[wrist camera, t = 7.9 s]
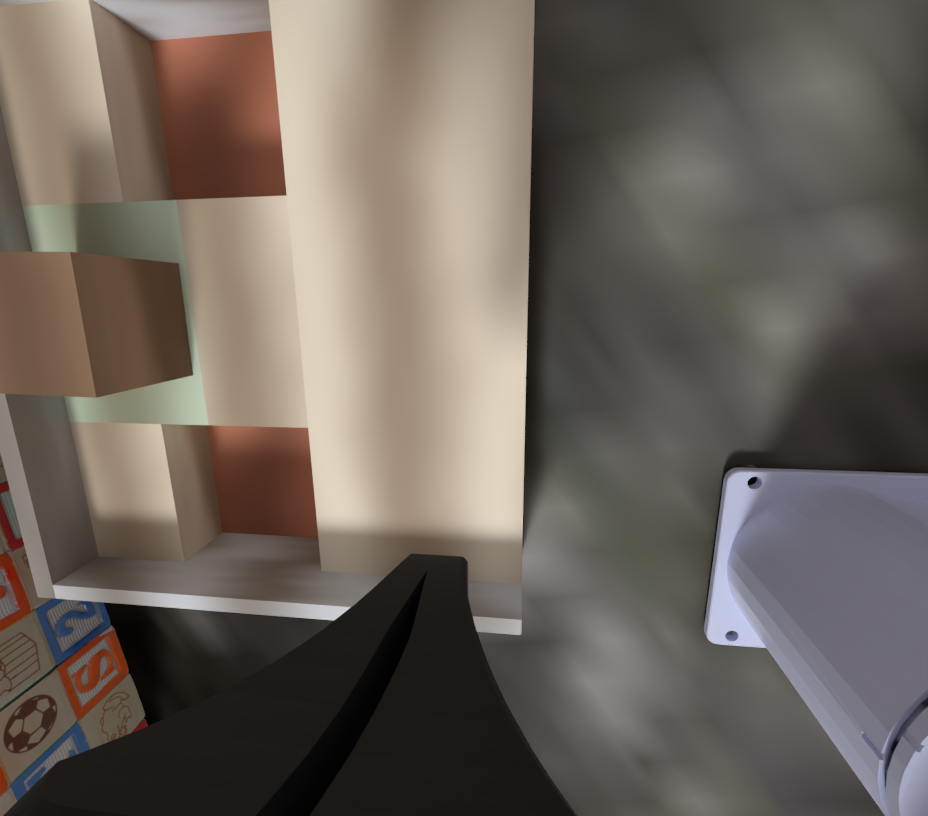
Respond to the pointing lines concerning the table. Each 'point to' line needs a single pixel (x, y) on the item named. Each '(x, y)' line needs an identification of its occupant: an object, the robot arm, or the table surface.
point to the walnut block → (89, 324)
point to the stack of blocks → (53, 671)
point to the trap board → (280, 295)
